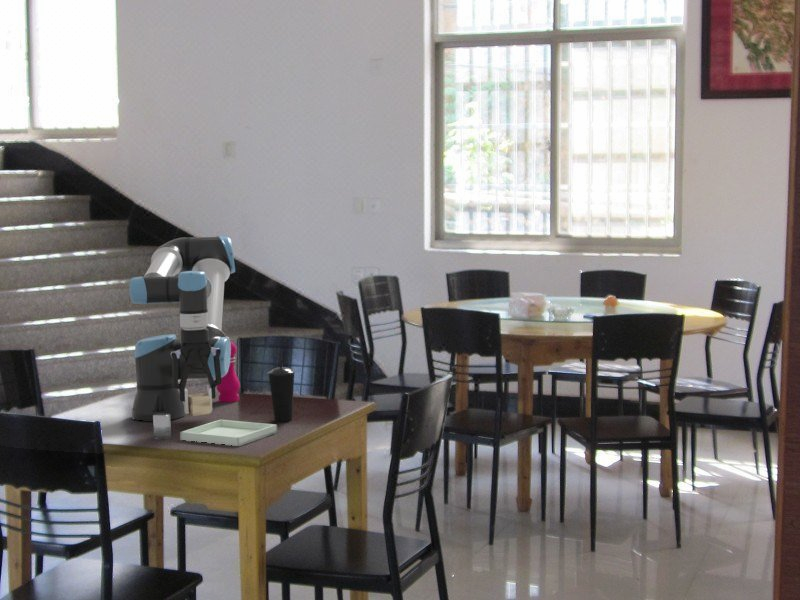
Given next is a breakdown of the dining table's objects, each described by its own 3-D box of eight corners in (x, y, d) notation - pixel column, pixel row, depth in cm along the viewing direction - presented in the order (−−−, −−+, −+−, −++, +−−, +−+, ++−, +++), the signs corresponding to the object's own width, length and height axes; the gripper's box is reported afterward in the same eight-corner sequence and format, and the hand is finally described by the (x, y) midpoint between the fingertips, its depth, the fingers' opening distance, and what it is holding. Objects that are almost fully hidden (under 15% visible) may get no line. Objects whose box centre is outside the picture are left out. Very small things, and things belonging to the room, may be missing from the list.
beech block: (186, 413, 300) (185, 395, 299) (203, 410, 302) (202, 392, 302) (193, 416, 295) (192, 398, 295) (210, 413, 298) (209, 395, 298)
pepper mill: (221, 398, 341) (218, 335, 339) (243, 398, 340) (241, 334, 338) (214, 402, 334) (211, 338, 332) (236, 402, 333) (234, 337, 331)
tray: (180, 440, 281) (179, 431, 281) (220, 427, 296) (220, 419, 296) (238, 446, 273) (238, 437, 272) (277, 432, 288) (277, 424, 287)
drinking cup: (271, 417, 309) (269, 347, 307) (298, 416, 308) (296, 346, 306) (267, 422, 301) (264, 351, 299) (295, 422, 301) (292, 350, 299)
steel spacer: (150, 438, 284) (149, 416, 284) (161, 435, 288) (160, 413, 288) (163, 440, 282) (162, 417, 282) (174, 436, 286) (173, 414, 286)
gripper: (161, 332, 289) (165, 417, 292) (231, 327, 296) (235, 411, 298) (157, 328, 297) (161, 412, 299) (226, 323, 303) (229, 405, 305)
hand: (198, 411), depth 299 cm, fingers closed on beech block, 6 cm apart
